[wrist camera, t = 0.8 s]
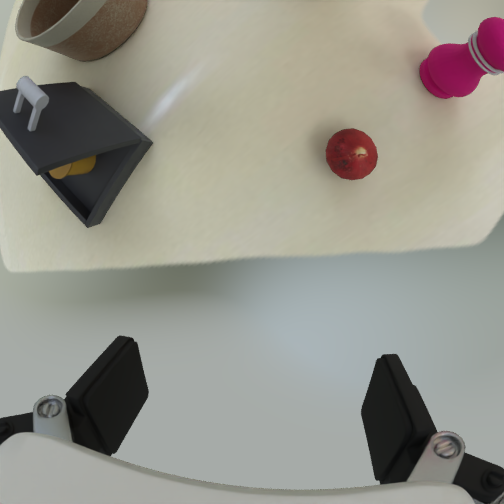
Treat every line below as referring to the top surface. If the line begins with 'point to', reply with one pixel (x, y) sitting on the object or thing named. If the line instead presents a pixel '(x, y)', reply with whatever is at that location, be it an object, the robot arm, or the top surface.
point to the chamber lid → (59, 124)
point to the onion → (351, 154)
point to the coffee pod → (74, 168)
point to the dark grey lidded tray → (99, 177)
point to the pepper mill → (465, 61)
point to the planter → (79, 25)
